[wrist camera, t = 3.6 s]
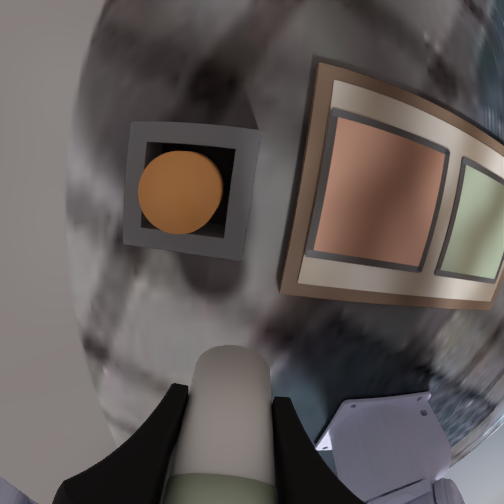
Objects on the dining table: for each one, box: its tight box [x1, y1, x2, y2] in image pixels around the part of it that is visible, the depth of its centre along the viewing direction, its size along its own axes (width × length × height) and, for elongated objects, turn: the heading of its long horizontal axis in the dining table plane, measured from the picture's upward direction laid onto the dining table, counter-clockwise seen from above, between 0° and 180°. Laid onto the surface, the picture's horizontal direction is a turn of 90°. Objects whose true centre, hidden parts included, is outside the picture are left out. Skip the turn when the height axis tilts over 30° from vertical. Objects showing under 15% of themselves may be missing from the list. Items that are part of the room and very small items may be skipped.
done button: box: [138, 151, 224, 234], centre depth 11 cm, size 3×3×2 cm
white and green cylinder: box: [162, 345, 278, 504], centre depth 9 cm, size 4×4×8 cm
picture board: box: [279, 62, 504, 310], centre depth 13 cm, size 18×12×1 cm, turn 82°
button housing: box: [123, 121, 262, 261], centre depth 12 cm, size 6×6×2 cm
